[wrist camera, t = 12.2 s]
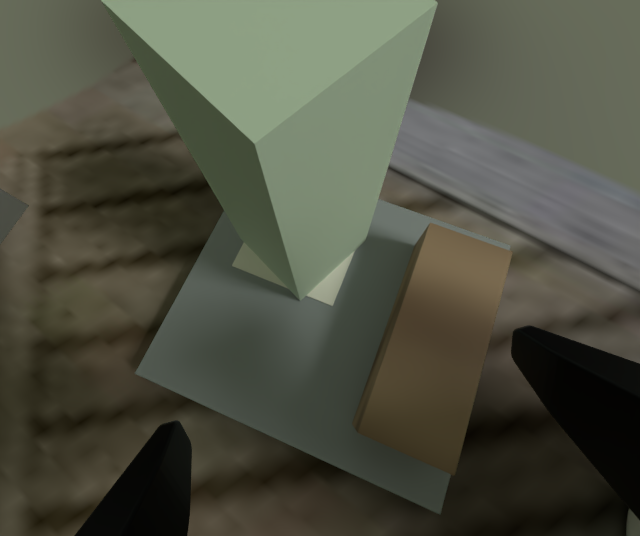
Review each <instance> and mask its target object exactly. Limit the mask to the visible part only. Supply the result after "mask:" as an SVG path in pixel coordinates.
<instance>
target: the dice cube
mask: <svg viewBox="0 0 640 536" xmlns="http://www.w3.org/2000/svg"><path fill="white" fill-rule="evenodd" d="M28 206H29V205H27V204H25V203H24V202H22V201H20V200H18V199H17V198H15V197H13V196H12V195H10V194H8V193H7V192H5V191H3V190H2V189H0V244H1V243H2V241H3V240H4V239H5V237H6V236H7V235H8V233H9V232H10V230H11V229H12V228H13V226H14V225H15V224H16V222H17V221H18V220H19V218H20V217H21V216H22V214H23V213H24V211H25V210H26V209H27V207H28Z"/></svg>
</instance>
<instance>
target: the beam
mask: <svg viewBox="0 0 640 536" xmlns="http://www.w3.org/2000/svg"><path fill="white" fill-rule="evenodd" d="M511 256H512V251H509V250H506V249H504V248H501V247H498V246H495V245H492V244H490V243H487V242H484V241H481V240H478V239H475V238H473V237H470V236H467V235H464V234H461V233H459V232H456V231H453V230H450V229H447V228H444V227H442V226H439V225H436V224H433V223H429V225H428V226H427V228H426V229H425V231H424V232H423V234H422V235H421V237H420V238H419V240H418V241H417V243H416V244H415V246H414V249H413V251H412V254H411V257H410V260H409V263H408V266H407V268H406V271H405V274H404V277H403V280H402V283H401V286H400V288H399V291H398V294H397V297H396V300H395V303H394V305H393V308H392V311H391V314H390V317H389V320H388V323H387V325H386V328H385V331H384V334H383V337H382V340H381V342H380V345H379V348H378V351H377V354H376V357H375V360H374V362H373V365H372V368H371V371H370V374H369V377H368V379H367V382H366V385H365V388H364V391H363V394H362V397H361V399H360V402H359V405H358V408H357V411H356V414H355V416H354V419H353V422H352V425H353V426H354V428H355V429H356V431H357V432H358V433H359V434H361V435H364V436H366V437H368V438H370V439H373V440H375V441H377V442H379V443H382V444H384V445H386V446H388V447H391V448H393V449H395V450H397V451H399V452H402V453H404V454H406V455H408V456H411V457H413V458H415V459H417V460H420V461H422V462H424V463H426V464H429V465H431V466H433V467H435V468H438V469H440V470H442V471H444V472H447V473H449V474H451V475H453V476H455V473H456V469H457V465H458V462H459V458H460V454H461V450H462V446H463V442H464V438H465V434H466V431H467V427H468V423H469V419H470V415H471V411H472V407H473V404H474V400H475V396H476V392H477V388H478V384H479V380H480V376H481V373H482V369H483V365H484V361H485V357H486V353H487V349H488V345H489V342H490V338H491V334H492V330H493V326H494V322H495V318H496V314H497V311H498V307H499V303H500V299H501V295H502V291H503V287H504V283H505V280H506V276H507V272H508V268H509V264H510V260H511Z"/></svg>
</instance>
